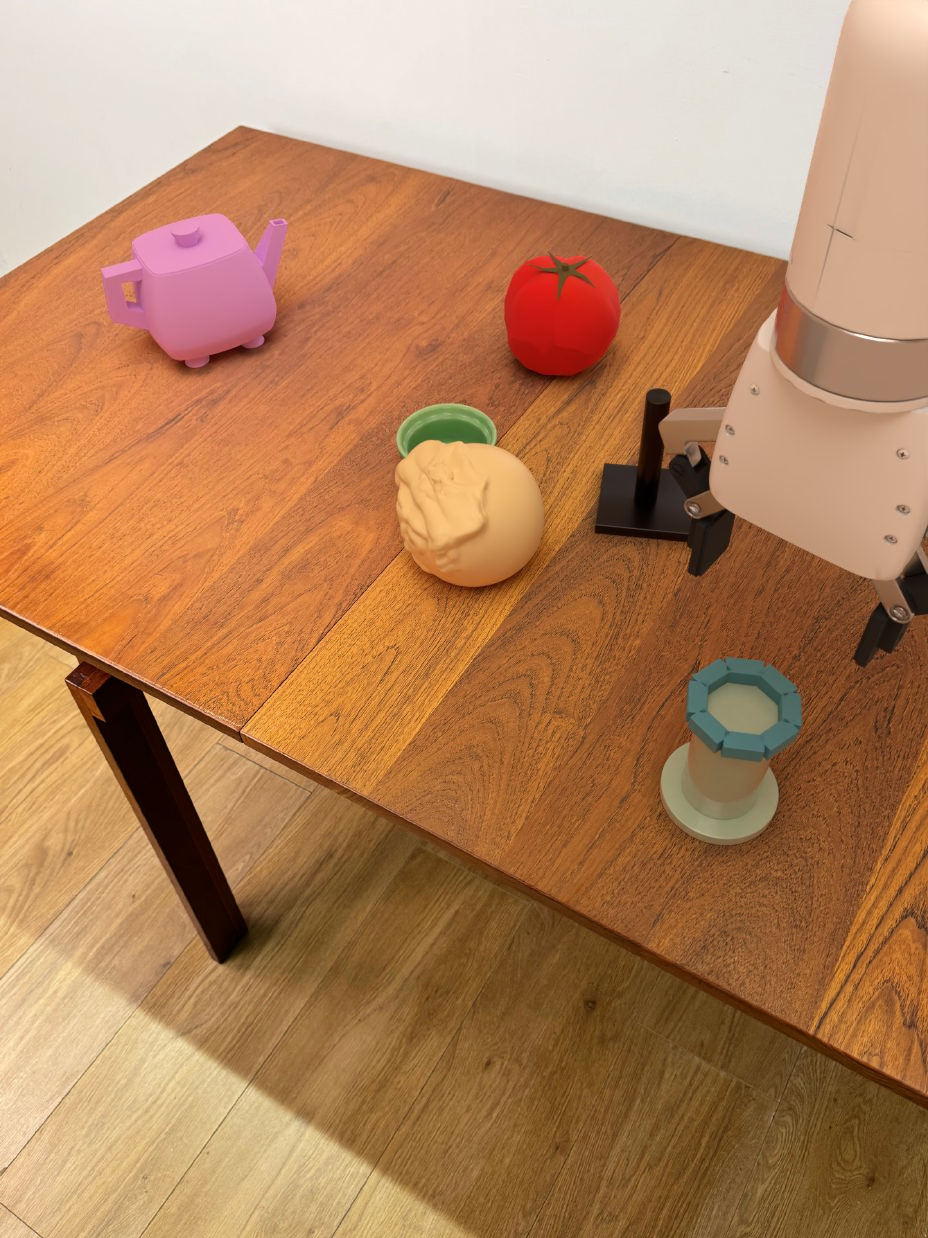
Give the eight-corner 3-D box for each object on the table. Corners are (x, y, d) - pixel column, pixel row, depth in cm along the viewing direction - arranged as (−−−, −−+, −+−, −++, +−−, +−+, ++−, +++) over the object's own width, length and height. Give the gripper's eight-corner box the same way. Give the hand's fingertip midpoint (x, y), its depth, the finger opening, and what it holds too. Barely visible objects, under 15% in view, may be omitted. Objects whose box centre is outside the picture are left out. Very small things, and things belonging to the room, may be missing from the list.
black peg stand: (692, 478, 90) (711, 368, 81) (688, 542, 85) (708, 432, 76) (603, 470, 91) (612, 361, 82) (594, 533, 86) (603, 424, 77)
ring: (796, 676, 63) (800, 664, 63) (799, 767, 59) (803, 757, 58) (688, 663, 65) (690, 652, 64) (683, 752, 60) (685, 741, 59)
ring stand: (775, 752, 72) (805, 669, 64) (776, 854, 67) (809, 777, 59) (662, 737, 73) (679, 655, 65) (655, 836, 68) (672, 759, 60)
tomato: (479, 358, 103) (474, 259, 94) (558, 312, 107) (561, 214, 98) (560, 411, 97) (563, 311, 88) (641, 361, 101) (652, 260, 92)
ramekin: (398, 444, 95) (393, 407, 91) (492, 435, 95) (491, 398, 91) (403, 510, 89) (398, 473, 86) (503, 500, 89) (502, 463, 86)
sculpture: (385, 530, 87) (370, 435, 79) (511, 492, 90) (510, 396, 81) (429, 624, 81) (418, 530, 72) (564, 580, 83) (569, 484, 75)
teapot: (145, 397, 101) (104, 285, 91) (111, 335, 108) (70, 226, 98) (325, 333, 107) (305, 222, 97) (281, 279, 114) (258, 170, 104)
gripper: (1135, 359, 37) (976, 640, 51) (733, 218, 45) (686, 494, 58) (1059, 466, 34) (909, 737, 47) (637, 294, 42) (610, 568, 55)
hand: (786, 602), depth 53 cm, fingers open, 9 cm apart
